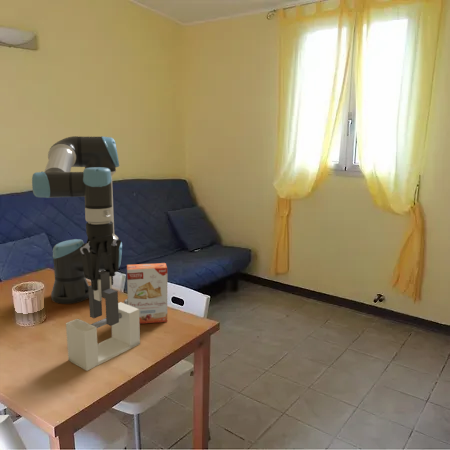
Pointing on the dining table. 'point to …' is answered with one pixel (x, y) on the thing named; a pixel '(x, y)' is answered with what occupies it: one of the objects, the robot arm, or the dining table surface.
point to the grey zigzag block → (110, 300)
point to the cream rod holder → (98, 353)
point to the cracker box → (148, 291)
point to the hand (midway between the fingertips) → (103, 297)
